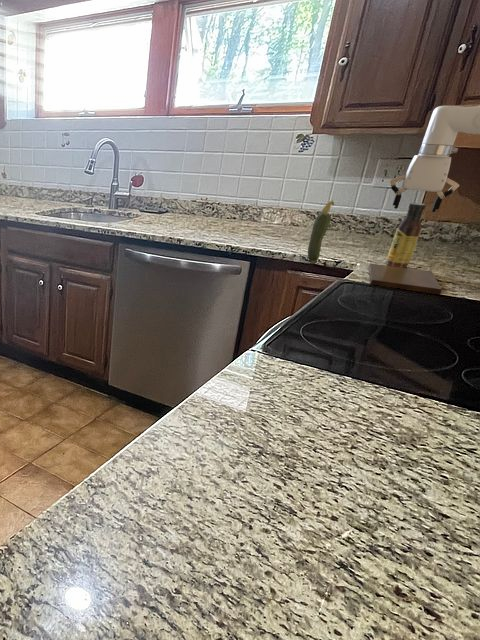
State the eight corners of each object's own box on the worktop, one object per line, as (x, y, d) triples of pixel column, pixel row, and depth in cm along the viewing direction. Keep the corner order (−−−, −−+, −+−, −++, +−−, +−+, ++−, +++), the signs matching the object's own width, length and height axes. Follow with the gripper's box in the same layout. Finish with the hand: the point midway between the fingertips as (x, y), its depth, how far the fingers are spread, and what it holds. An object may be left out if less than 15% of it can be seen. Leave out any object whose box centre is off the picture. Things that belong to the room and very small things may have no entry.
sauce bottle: (384, 262, 175) (404, 201, 167) (406, 265, 172) (428, 203, 164) (385, 266, 170) (406, 203, 162) (408, 269, 167) (431, 205, 159)
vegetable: (301, 262, 172) (318, 199, 164) (306, 260, 175) (322, 198, 167) (316, 265, 170) (333, 201, 161) (320, 263, 172) (338, 200, 164)
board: (429, 275, 161) (431, 271, 160) (440, 294, 142) (442, 289, 141) (368, 267, 168) (369, 263, 167) (370, 284, 149) (371, 279, 149)
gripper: (469, 152, 156) (446, 211, 163) (399, 149, 164) (380, 205, 171) (473, 153, 150) (450, 214, 157) (401, 149, 158) (381, 208, 165)
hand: (414, 209), depth 164 cm, fingers open, 9 cm apart
